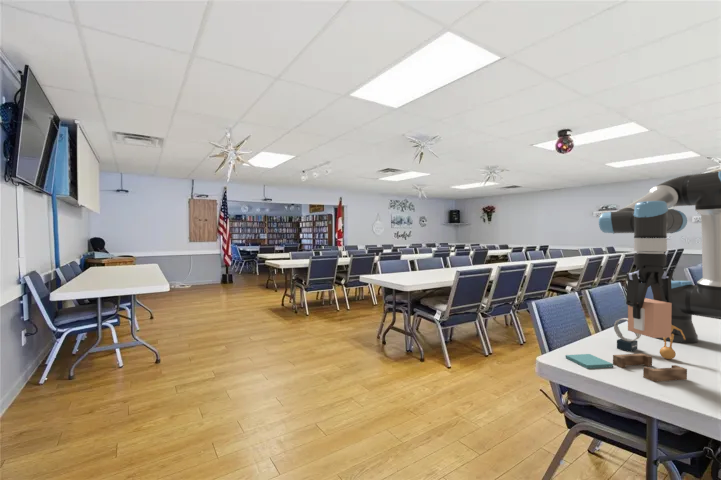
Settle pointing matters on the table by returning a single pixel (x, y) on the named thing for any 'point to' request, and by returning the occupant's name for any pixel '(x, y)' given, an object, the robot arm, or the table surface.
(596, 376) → the table surface
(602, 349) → the table surface
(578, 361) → the teal pad
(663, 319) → the terracotta block
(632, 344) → the watch
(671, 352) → the figurine
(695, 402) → the table surface
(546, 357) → the table surface
